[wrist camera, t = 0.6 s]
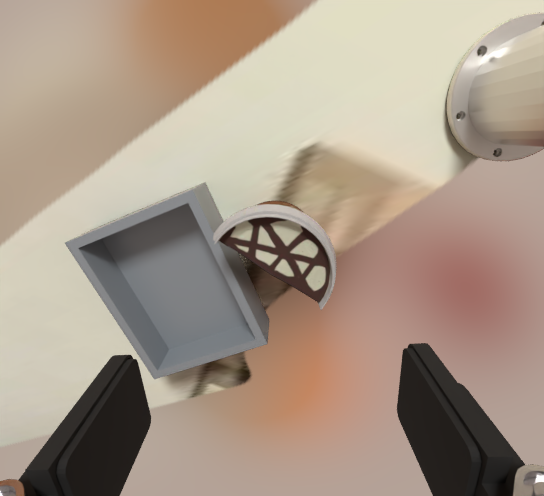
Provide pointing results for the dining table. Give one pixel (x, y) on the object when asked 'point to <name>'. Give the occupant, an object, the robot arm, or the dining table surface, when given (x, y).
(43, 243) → the dining table surface
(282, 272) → the food container
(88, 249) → the bin
